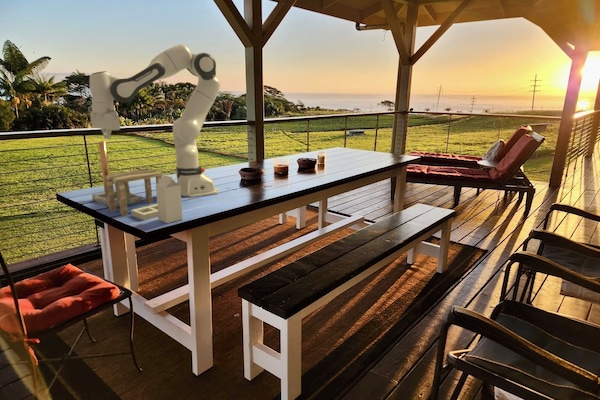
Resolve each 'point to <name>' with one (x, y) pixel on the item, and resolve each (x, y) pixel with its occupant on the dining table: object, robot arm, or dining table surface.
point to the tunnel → (120, 180)
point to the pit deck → (146, 212)
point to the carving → (125, 190)
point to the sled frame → (105, 171)
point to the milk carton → (169, 200)
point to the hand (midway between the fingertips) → (107, 138)
